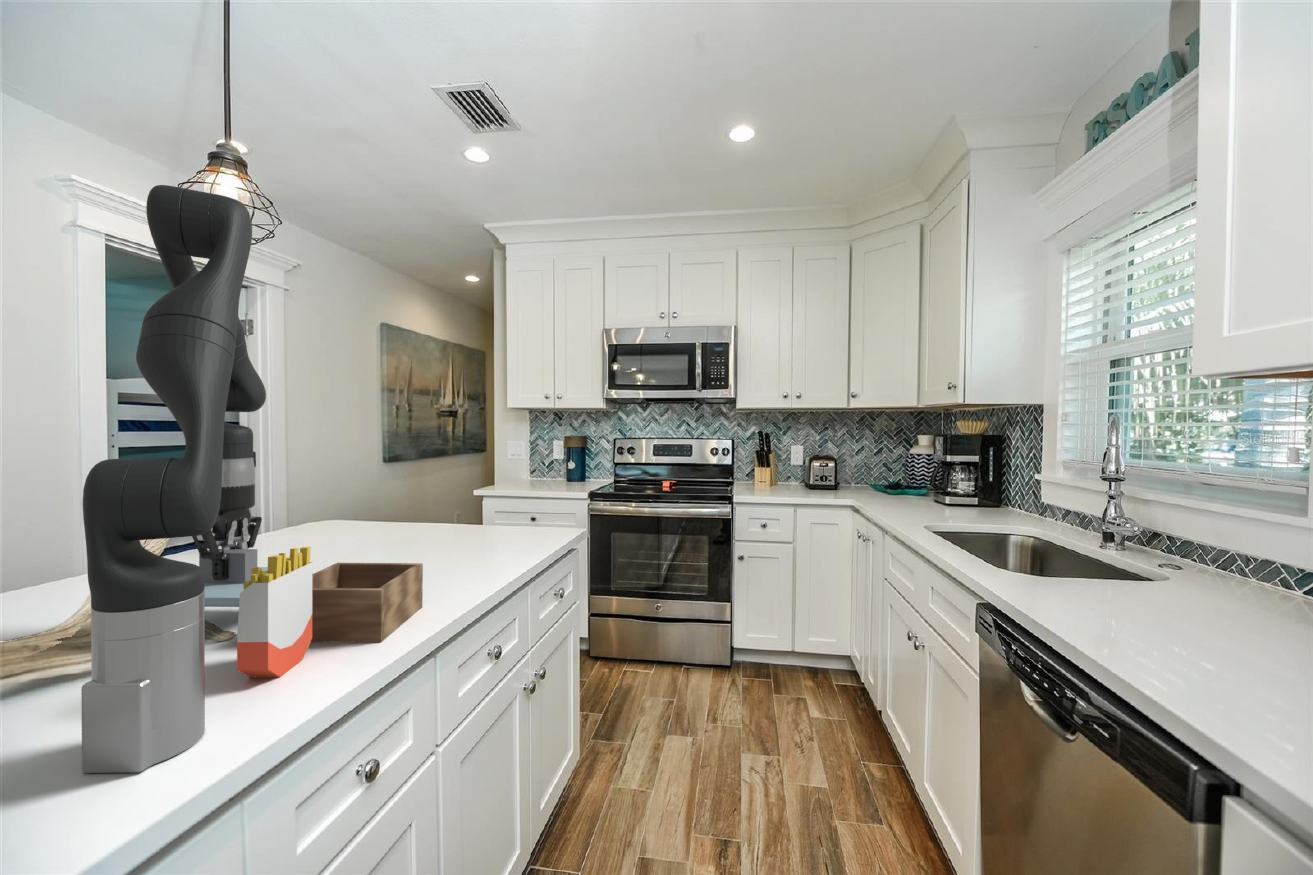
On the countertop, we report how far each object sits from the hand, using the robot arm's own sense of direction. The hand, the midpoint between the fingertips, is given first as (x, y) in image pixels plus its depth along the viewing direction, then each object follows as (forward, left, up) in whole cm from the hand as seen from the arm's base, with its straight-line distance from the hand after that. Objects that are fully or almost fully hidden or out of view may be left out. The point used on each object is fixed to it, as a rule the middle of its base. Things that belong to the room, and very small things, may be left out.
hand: (229, 576), depth 94 cm
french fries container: (-17, -20, -9) cm, 28 cm away
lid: (0, 0, -2) cm, 2 cm away
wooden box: (+1, -23, -9) cm, 24 cm away
